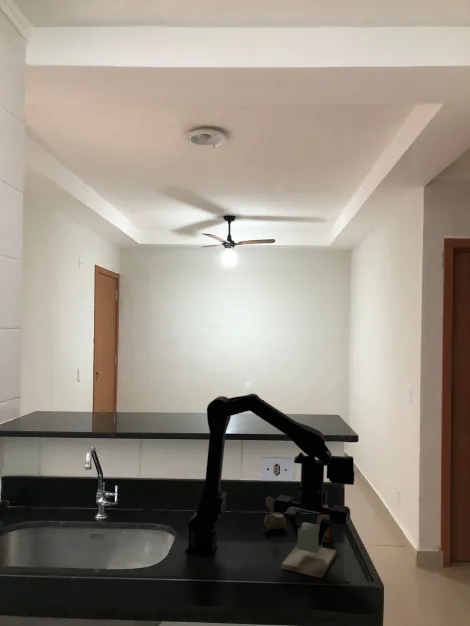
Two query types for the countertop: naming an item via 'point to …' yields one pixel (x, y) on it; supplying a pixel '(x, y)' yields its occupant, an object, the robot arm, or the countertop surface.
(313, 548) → the sage cube
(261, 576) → the countertop surface
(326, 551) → the maple board
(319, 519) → the tin
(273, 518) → the beige lumpy figure
